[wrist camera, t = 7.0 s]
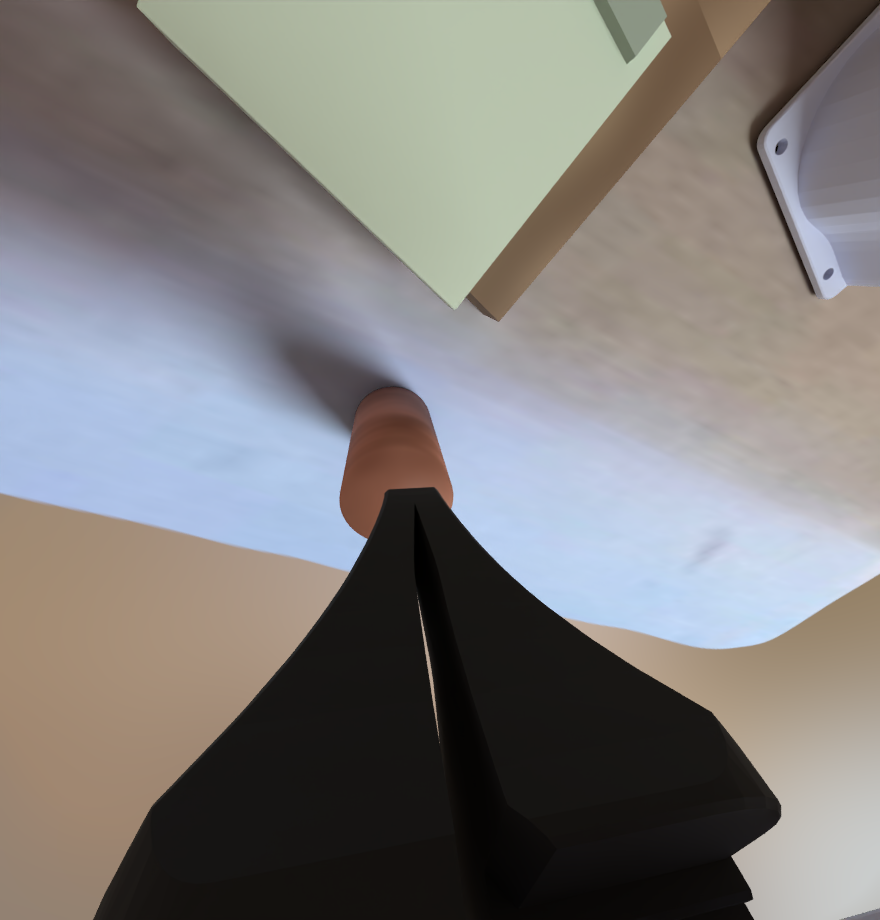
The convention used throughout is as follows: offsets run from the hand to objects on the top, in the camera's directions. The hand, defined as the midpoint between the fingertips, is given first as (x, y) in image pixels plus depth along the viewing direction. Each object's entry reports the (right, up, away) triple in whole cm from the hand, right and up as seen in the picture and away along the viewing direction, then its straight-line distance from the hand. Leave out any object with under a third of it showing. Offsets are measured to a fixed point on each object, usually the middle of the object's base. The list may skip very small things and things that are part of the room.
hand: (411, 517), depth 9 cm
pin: (-2, +4, +9) cm, 10 cm away
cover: (0, +13, 0) cm, 13 cm away
